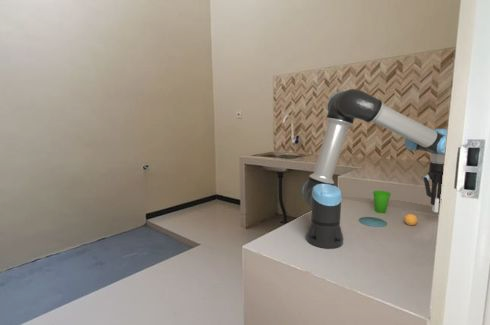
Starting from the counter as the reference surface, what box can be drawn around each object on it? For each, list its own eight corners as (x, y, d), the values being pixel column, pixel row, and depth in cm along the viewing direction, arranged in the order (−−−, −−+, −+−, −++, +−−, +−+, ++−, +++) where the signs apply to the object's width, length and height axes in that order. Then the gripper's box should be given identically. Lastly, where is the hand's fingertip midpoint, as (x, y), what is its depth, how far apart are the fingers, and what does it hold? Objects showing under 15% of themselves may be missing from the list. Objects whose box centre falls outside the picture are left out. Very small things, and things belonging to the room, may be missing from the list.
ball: (405, 226, 132) (406, 215, 131) (402, 222, 137) (403, 211, 136) (418, 227, 131) (419, 216, 130) (414, 223, 136) (415, 212, 135)
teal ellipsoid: (360, 225, 133) (360, 225, 133) (357, 216, 146) (357, 215, 146) (390, 228, 130) (390, 227, 130) (383, 218, 143) (383, 218, 143)
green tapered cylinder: (391, 215, 147) (393, 195, 146) (373, 214, 149) (375, 194, 147) (386, 209, 156) (388, 191, 154) (369, 208, 158) (371, 190, 156)
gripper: (452, 161, 128) (447, 209, 132) (420, 160, 132) (416, 208, 135) (460, 164, 121) (454, 215, 125) (426, 163, 125) (422, 213, 128)
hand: (434, 211), depth 130 cm, fingers closed
